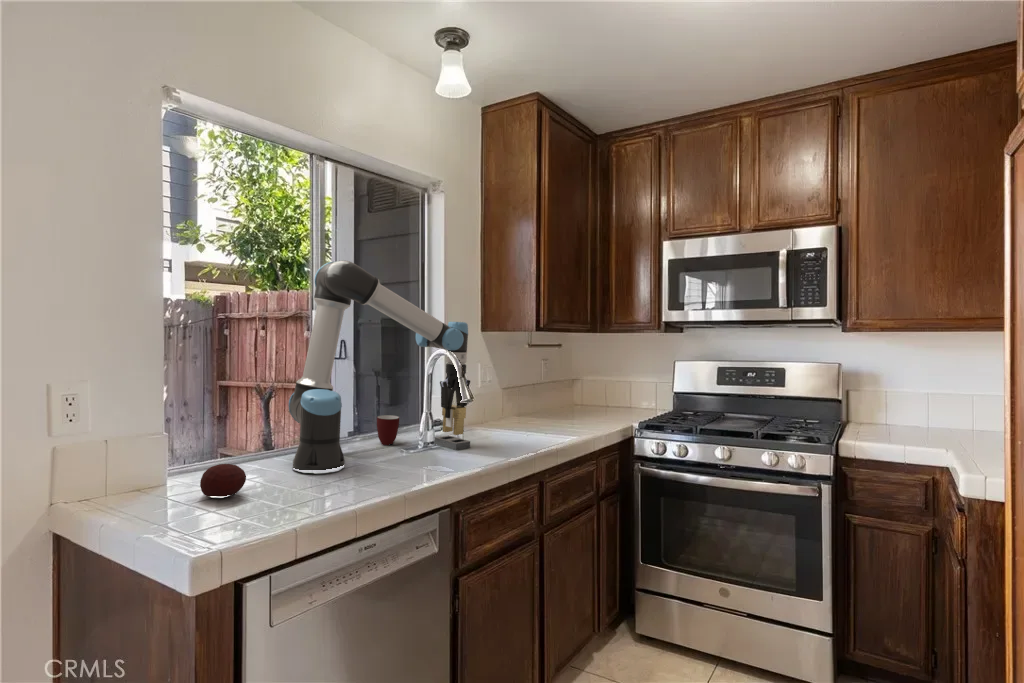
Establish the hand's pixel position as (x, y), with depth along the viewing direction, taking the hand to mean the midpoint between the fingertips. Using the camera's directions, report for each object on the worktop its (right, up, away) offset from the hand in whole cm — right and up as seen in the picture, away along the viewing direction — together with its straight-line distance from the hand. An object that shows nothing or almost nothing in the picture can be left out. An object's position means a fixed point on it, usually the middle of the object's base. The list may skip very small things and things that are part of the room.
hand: (453, 425), depth 216 cm
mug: (-25, -7, -1) cm, 26 cm away
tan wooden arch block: (0, -3, 0) cm, 3 cm away
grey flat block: (0, -8, 0) cm, 8 cm away
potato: (-52, -8, -69) cm, 86 cm away
